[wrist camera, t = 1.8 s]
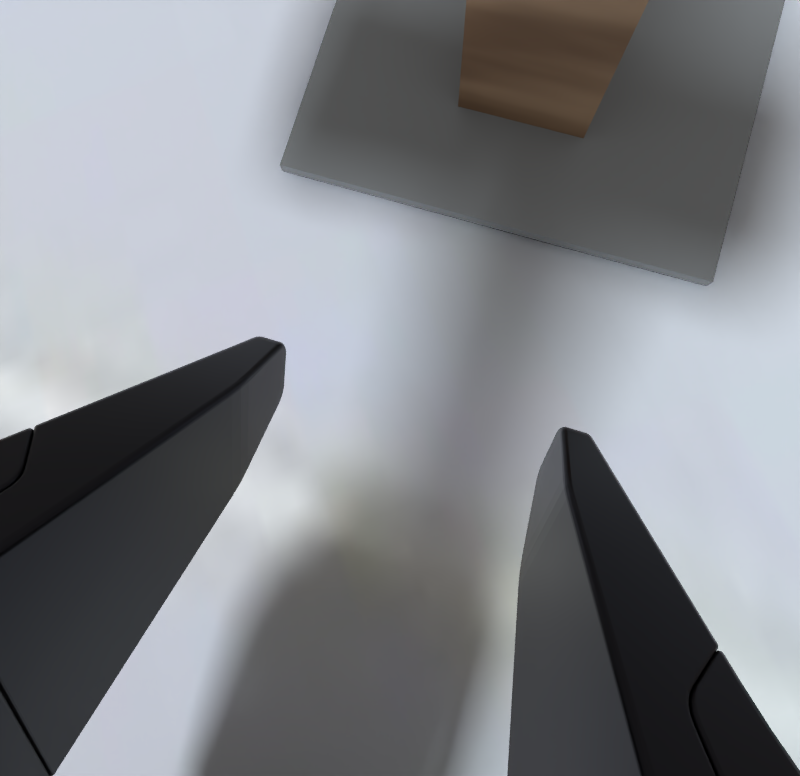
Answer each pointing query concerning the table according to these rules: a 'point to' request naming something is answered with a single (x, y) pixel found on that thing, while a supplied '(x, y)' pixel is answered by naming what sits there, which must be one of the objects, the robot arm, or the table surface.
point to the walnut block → (543, 58)
